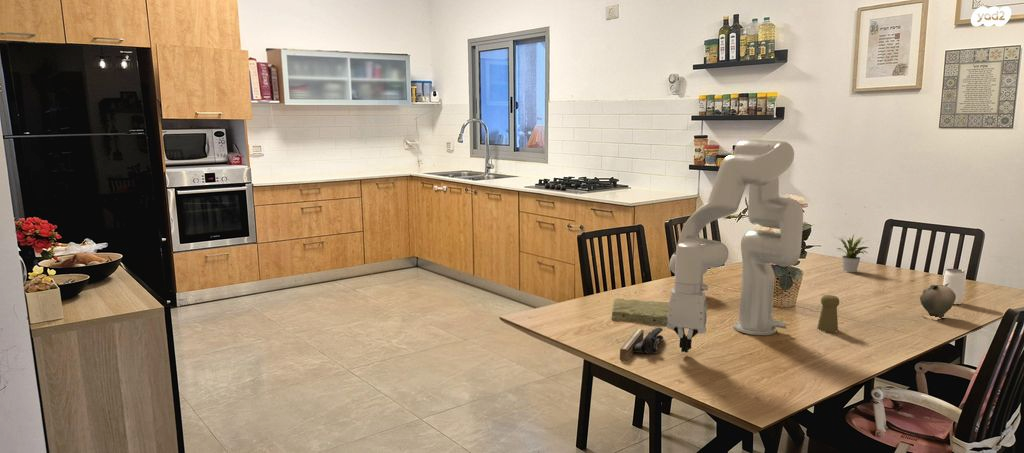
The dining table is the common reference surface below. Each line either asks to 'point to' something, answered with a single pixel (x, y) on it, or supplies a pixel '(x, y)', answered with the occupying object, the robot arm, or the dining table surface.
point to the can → (955, 282)
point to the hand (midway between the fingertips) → (685, 350)
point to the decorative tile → (640, 311)
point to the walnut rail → (631, 344)
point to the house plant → (851, 255)
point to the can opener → (649, 342)
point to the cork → (828, 314)
